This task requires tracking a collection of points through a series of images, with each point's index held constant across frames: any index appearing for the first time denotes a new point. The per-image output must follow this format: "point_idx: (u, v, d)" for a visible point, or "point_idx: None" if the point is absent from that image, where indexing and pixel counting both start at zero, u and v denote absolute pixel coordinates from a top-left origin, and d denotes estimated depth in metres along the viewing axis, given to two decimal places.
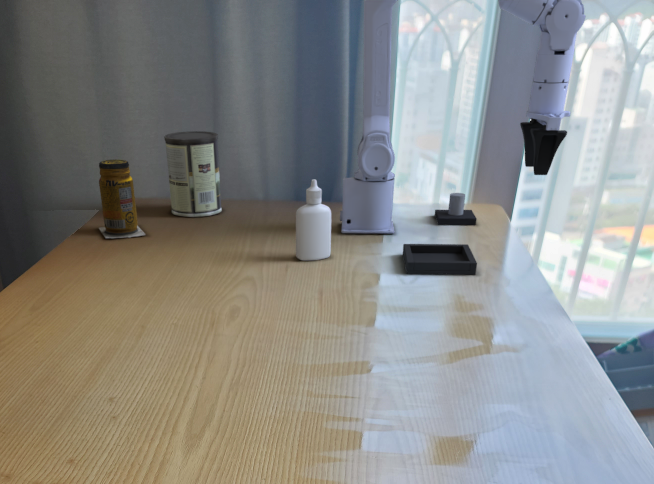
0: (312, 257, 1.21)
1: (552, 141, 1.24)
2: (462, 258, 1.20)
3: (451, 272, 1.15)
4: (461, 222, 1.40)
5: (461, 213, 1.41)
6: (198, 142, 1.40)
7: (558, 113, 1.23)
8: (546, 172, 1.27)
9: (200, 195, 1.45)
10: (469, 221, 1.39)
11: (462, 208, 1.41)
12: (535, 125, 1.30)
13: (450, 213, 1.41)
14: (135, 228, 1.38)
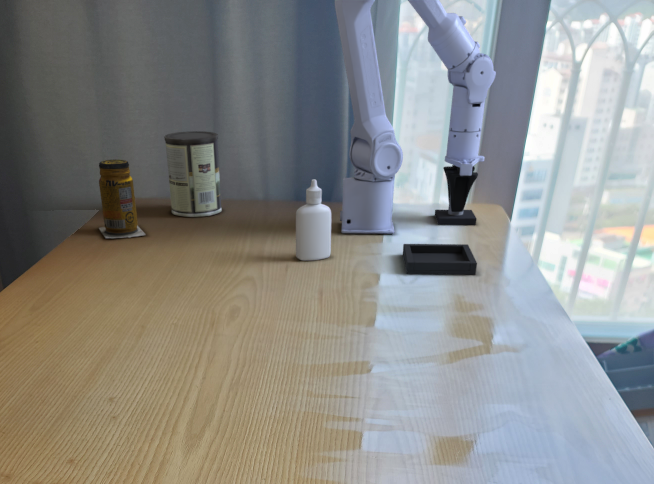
0: (312, 257, 1.21)
1: (465, 182, 1.37)
2: (462, 258, 1.20)
3: (451, 272, 1.15)
4: (461, 222, 1.40)
5: (461, 213, 1.41)
6: (198, 142, 1.40)
7: (472, 159, 1.34)
8: (462, 209, 1.40)
9: (200, 195, 1.45)
10: (469, 221, 1.39)
11: None
12: (456, 170, 1.39)
13: (450, 213, 1.41)
14: (135, 228, 1.38)
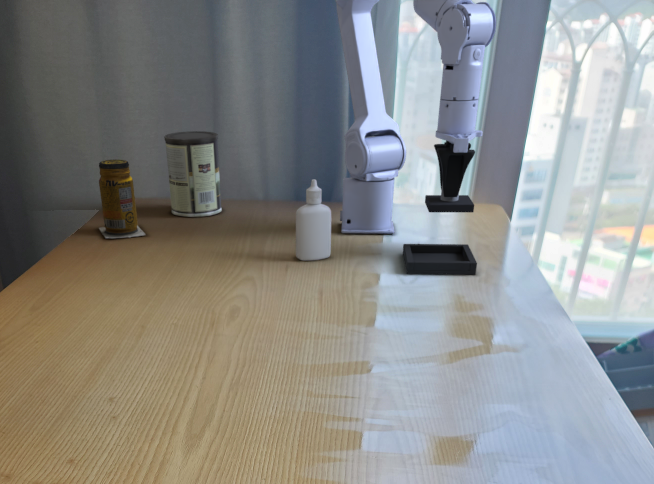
0: (312, 257, 1.21)
1: (460, 161, 1.15)
2: (462, 258, 1.20)
3: (451, 272, 1.15)
4: (456, 209, 1.18)
5: (456, 199, 1.20)
6: (198, 142, 1.40)
7: (468, 133, 1.13)
8: (456, 194, 1.18)
9: (200, 195, 1.45)
10: (466, 208, 1.18)
11: None
12: (450, 147, 1.18)
13: (443, 199, 1.20)
14: (135, 228, 1.38)
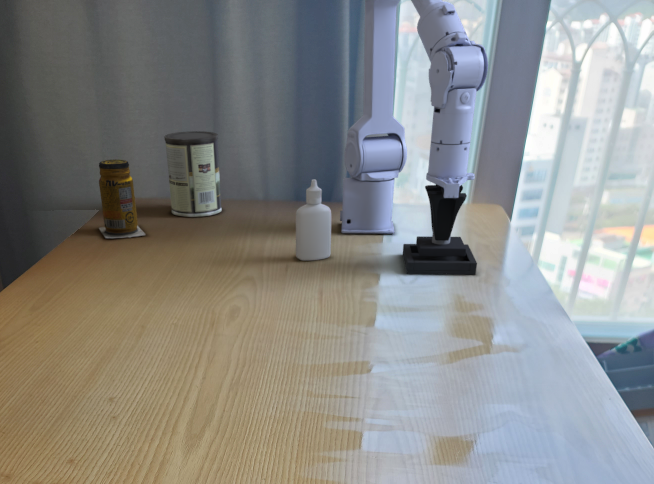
0: (312, 257, 1.21)
1: (451, 205, 1.12)
2: (462, 258, 1.20)
3: (451, 272, 1.15)
4: (447, 253, 1.15)
5: (448, 242, 1.16)
6: (198, 142, 1.40)
7: (459, 177, 1.10)
8: (447, 237, 1.15)
9: (200, 195, 1.45)
10: (458, 252, 1.15)
11: None
12: (441, 189, 1.15)
13: (434, 242, 1.17)
14: (135, 228, 1.38)
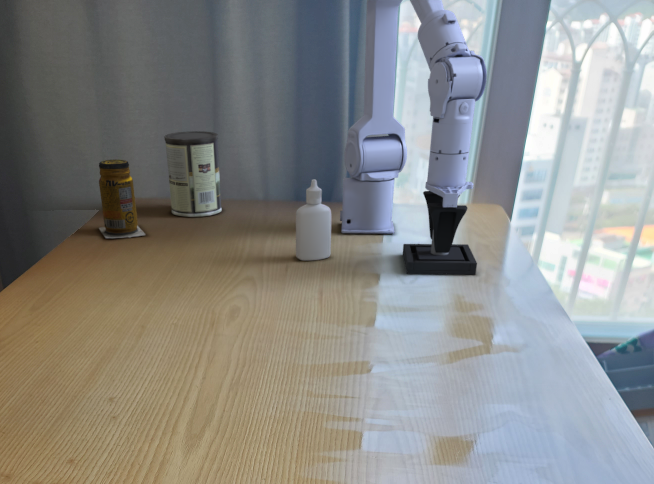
0: (312, 257, 1.21)
1: (452, 217, 1.11)
2: None
3: (451, 272, 1.15)
4: None
5: None
6: (198, 142, 1.40)
7: (458, 186, 1.10)
8: (448, 250, 1.14)
9: (200, 195, 1.45)
10: None
11: None
12: (439, 195, 1.17)
13: (433, 252, 1.17)
14: (135, 228, 1.38)
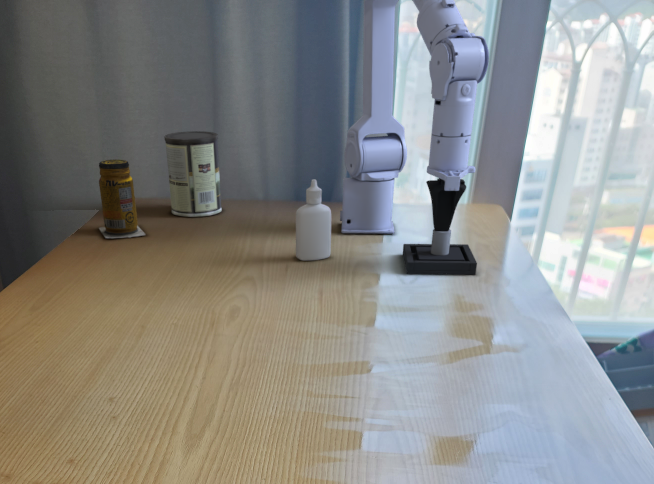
0: (312, 257, 1.21)
1: (451, 196, 1.13)
2: None
3: (451, 272, 1.15)
4: None
5: (446, 252, 1.17)
6: (198, 142, 1.40)
7: (460, 170, 1.09)
8: (447, 229, 1.15)
9: (200, 195, 1.45)
10: None
11: (447, 247, 1.17)
12: None
13: (433, 252, 1.17)
14: (135, 228, 1.38)
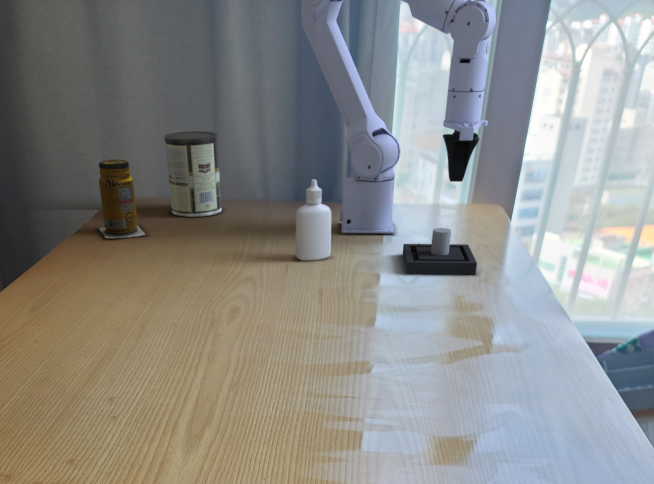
0: (312, 257, 1.21)
1: (465, 148, 1.24)
2: None
3: (451, 272, 1.15)
4: None
5: (446, 252, 1.17)
6: (198, 142, 1.40)
7: (474, 123, 1.20)
8: (461, 178, 1.27)
9: (200, 195, 1.45)
10: None
11: (447, 247, 1.17)
12: None
13: (433, 252, 1.17)
14: (135, 228, 1.38)
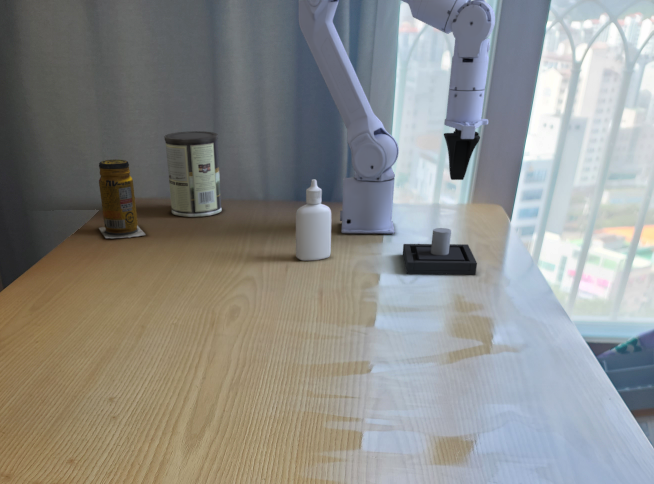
0: (312, 257, 1.21)
1: (466, 146, 1.25)
2: None
3: (451, 272, 1.15)
4: None
5: (446, 252, 1.17)
6: (198, 142, 1.40)
7: (475, 121, 1.21)
8: (462, 177, 1.28)
9: (200, 195, 1.45)
10: None
11: (447, 247, 1.17)
12: None
13: (433, 252, 1.17)
14: (135, 228, 1.38)
